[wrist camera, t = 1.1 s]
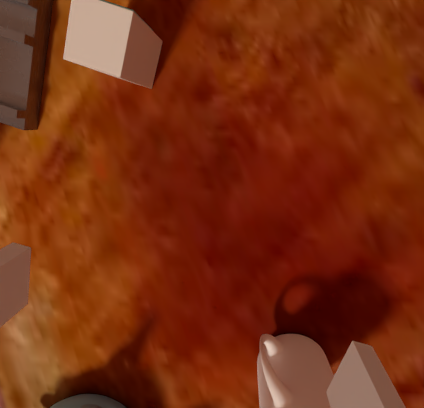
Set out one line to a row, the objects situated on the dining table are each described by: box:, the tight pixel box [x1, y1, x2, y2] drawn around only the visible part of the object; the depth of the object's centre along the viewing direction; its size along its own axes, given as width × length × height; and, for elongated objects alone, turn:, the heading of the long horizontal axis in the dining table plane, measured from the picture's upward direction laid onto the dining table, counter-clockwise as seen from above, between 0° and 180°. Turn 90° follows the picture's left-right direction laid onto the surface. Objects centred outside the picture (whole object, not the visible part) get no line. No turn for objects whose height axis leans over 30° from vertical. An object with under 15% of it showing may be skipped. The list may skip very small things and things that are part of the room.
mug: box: [257, 334, 334, 408], centre depth 31 cm, size 9×12×11 cm
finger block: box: [63, 0, 163, 89], centre depth 25 cm, size 5×4×8 cm
